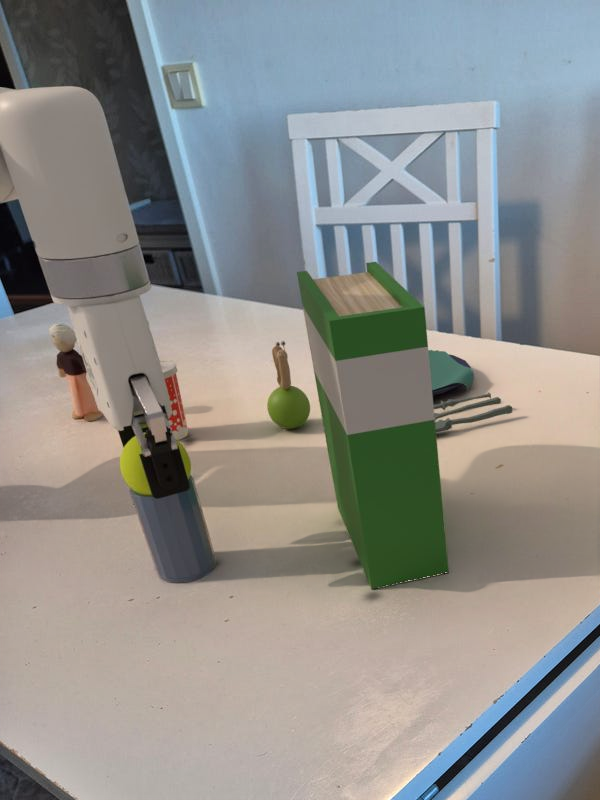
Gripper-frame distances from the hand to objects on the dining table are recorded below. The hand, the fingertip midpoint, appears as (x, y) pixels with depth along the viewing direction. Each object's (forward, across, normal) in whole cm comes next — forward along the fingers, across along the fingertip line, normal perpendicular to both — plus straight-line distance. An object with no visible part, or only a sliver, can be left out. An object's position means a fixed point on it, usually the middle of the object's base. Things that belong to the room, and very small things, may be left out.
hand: (157, 474), depth 76 cm
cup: (+10, 0, 0) cm, 10 cm away
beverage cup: (+10, -36, +8) cm, 38 cm away
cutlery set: (+10, -27, +40) cm, 49 cm away
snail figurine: (+10, -27, +22) cm, 36 cm away
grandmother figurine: (+10, -50, 0) cm, 51 cm away
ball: (-1, 0, 0) cm, 1 cm away
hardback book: (+10, +7, +19) cm, 22 cm away
